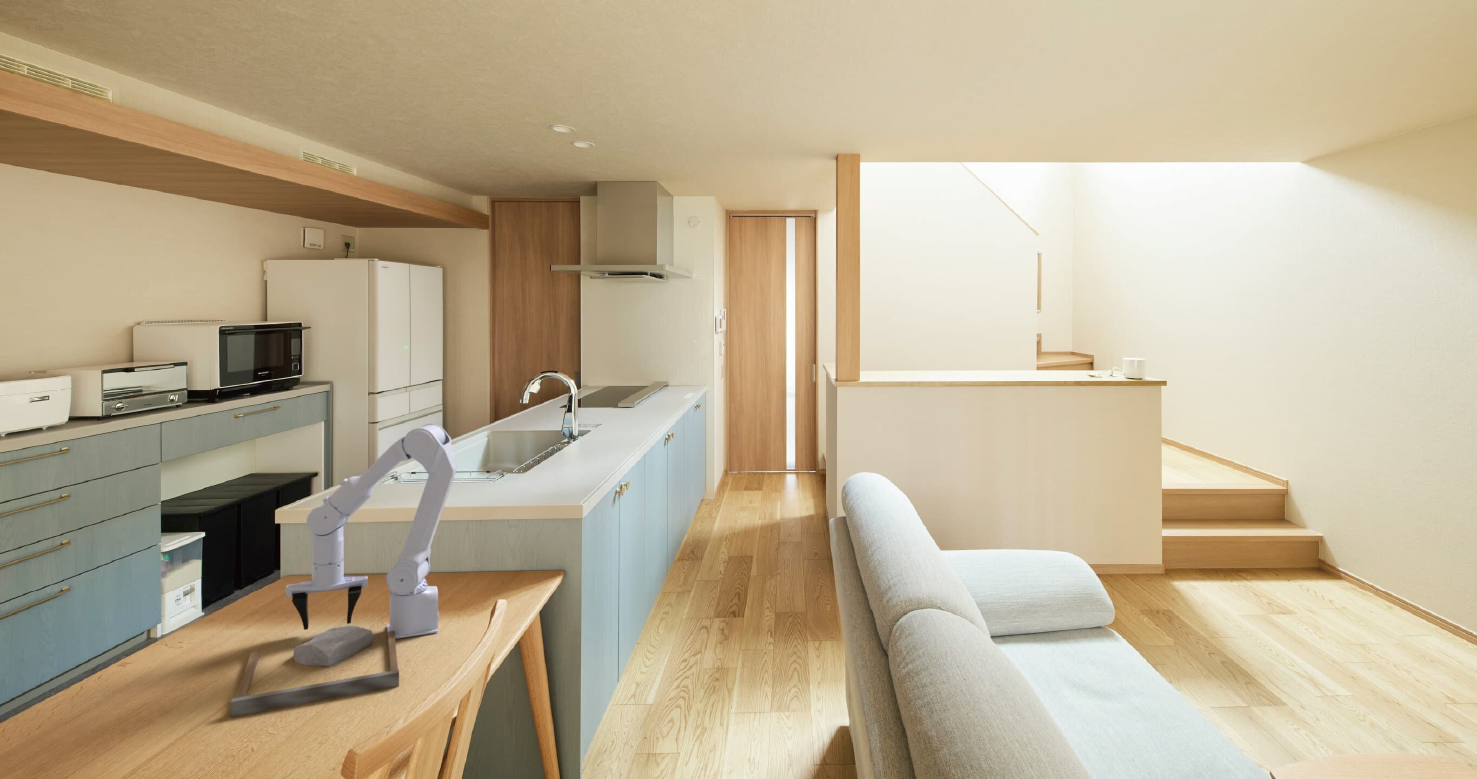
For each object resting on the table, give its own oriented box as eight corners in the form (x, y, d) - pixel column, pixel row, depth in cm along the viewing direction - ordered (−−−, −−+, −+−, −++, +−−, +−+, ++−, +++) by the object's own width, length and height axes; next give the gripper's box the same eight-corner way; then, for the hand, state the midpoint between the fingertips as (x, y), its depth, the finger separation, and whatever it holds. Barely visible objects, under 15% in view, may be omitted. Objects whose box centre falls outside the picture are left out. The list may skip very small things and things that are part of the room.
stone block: (288, 672, 130) (332, 668, 128) (284, 647, 130) (329, 643, 128) (336, 648, 141) (378, 644, 139) (333, 625, 141) (374, 621, 139)
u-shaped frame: (394, 636, 143) (394, 624, 142) (399, 686, 122) (399, 672, 122) (251, 657, 131) (251, 645, 131) (230, 717, 110) (230, 702, 110)
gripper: (367, 551, 149) (367, 612, 150) (288, 559, 142) (288, 623, 143) (367, 561, 143) (367, 624, 144) (284, 569, 136) (284, 636, 137)
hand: (327, 624), depth 143 cm, fingers open, 7 cm apart
